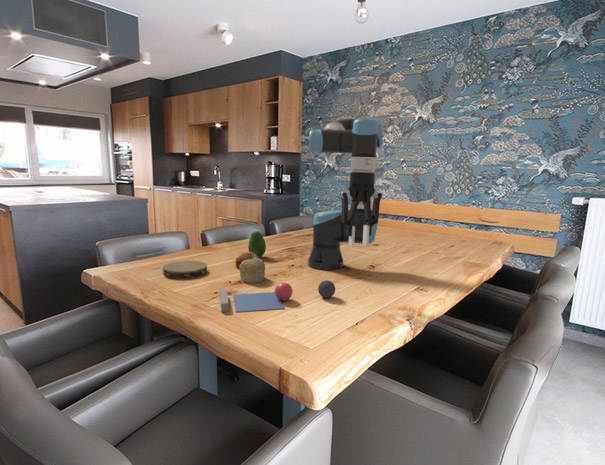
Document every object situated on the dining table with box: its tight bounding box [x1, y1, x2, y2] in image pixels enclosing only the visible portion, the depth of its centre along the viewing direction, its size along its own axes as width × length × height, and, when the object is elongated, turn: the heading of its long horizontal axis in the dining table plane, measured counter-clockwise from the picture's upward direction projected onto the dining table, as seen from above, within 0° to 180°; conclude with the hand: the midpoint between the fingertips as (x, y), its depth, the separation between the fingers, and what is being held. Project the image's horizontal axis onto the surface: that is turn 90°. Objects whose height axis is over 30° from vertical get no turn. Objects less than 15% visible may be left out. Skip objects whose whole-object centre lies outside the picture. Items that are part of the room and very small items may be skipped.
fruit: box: [247, 230, 267, 258], centre depth 160 cm, size 8×8×12 cm
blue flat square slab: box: [232, 291, 286, 313], centre depth 107 cm, size 14×14×1 cm
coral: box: [238, 257, 266, 284], centre depth 129 cm, size 9×9×8 cm
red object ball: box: [274, 282, 294, 302], centre depth 109 cm, size 6×6×6 cm
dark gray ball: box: [317, 280, 336, 299], centre depth 112 cm, size 6×6×6 cm
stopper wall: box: [219, 288, 230, 313], centre depth 105 cm, size 2×12×2 cm, turn 15°
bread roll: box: [235, 251, 259, 270], centre depth 145 cm, size 10×10×8 cm
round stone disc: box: [162, 260, 208, 280], centre depth 135 cm, size 16×16×3 cm
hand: (358, 245), depth 113 cm, fingers open, 4 cm apart
